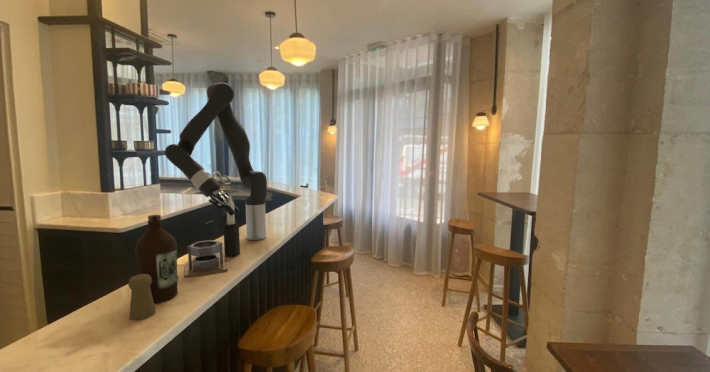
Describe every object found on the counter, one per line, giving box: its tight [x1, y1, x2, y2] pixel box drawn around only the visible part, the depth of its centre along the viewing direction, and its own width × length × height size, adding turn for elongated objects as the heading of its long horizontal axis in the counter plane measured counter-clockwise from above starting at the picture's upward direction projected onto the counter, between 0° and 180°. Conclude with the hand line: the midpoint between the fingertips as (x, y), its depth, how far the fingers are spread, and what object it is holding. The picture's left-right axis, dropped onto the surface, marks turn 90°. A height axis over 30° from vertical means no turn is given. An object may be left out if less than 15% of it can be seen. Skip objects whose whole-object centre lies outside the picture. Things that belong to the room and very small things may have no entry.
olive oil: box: [134, 214, 179, 304], centre depth 96 cm, size 11×11×25 cm
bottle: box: [222, 195, 241, 258], centre depth 133 cm, size 5×5×25 cm
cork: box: [127, 274, 157, 321], centre depth 86 cm, size 6×6×11 cm
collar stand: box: [183, 239, 228, 278], centre depth 120 cm, size 14×14×9 cm
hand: (235, 212), depth 133 cm, fingers closed on bottle, 3 cm apart
